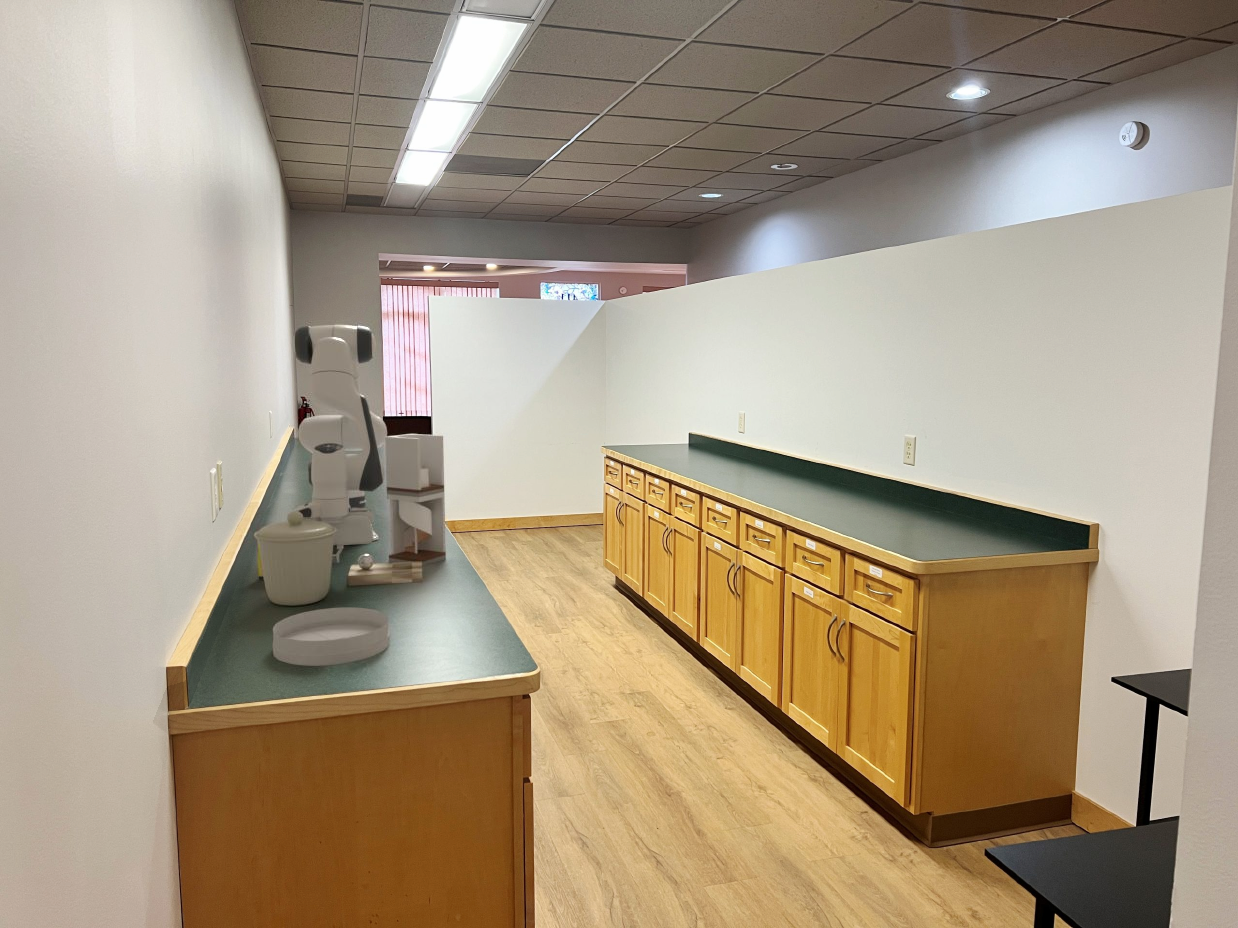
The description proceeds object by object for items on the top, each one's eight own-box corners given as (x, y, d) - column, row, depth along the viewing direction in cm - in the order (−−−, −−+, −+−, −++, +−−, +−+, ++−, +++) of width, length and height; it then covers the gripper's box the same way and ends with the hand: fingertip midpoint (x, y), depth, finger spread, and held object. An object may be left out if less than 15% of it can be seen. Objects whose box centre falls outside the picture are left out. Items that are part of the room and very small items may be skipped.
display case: (388, 562, 245) (385, 436, 240) (414, 554, 254) (411, 433, 250) (420, 566, 239) (417, 438, 235) (445, 558, 249) (443, 435, 244)
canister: (252, 613, 196) (247, 520, 193) (262, 592, 213) (258, 506, 210) (337, 607, 200) (334, 516, 198) (340, 587, 218) (337, 503, 215)
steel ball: (358, 567, 228) (357, 552, 227) (374, 567, 228) (373, 551, 228) (357, 571, 224) (356, 556, 223) (373, 570, 225) (373, 555, 224)
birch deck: (351, 574, 231) (351, 564, 231) (421, 570, 235) (421, 561, 235) (348, 585, 220) (348, 575, 219) (422, 581, 224) (422, 571, 223)
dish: (412, 646, 175) (411, 621, 174) (309, 676, 159) (308, 649, 158) (352, 623, 190) (351, 600, 189) (252, 648, 173) (250, 624, 173)
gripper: (374, 504, 227) (375, 557, 229) (290, 507, 223) (292, 561, 224) (373, 508, 221) (374, 562, 223) (287, 511, 217) (289, 566, 218)
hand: (333, 562), depth 224 cm, fingers closed
